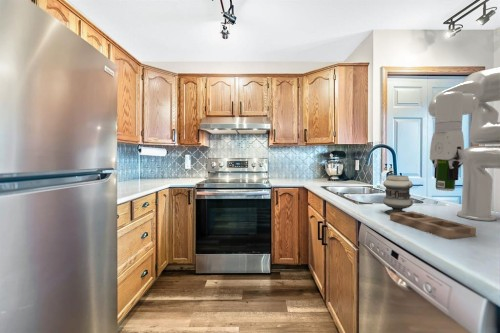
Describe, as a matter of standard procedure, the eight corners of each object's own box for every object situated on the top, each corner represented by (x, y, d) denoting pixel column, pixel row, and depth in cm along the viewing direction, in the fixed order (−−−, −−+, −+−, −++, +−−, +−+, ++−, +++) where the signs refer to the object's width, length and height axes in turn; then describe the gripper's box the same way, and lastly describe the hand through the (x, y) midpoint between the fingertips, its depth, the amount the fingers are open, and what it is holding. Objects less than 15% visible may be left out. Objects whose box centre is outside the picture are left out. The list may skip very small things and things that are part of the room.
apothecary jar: (378, 210, 121) (379, 174, 120) (404, 211, 119) (405, 174, 118) (388, 216, 109) (390, 176, 108) (417, 217, 107) (419, 177, 106)
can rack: (389, 220, 103) (390, 213, 103) (412, 218, 106) (412, 211, 106) (448, 239, 80) (449, 230, 79) (475, 236, 82) (476, 227, 82)
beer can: (451, 191, 83) (453, 156, 82) (432, 189, 87) (434, 156, 86) (457, 190, 86) (459, 156, 85) (438, 188, 90) (440, 156, 89)
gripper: (420, 130, 94) (418, 177, 95) (457, 125, 77) (455, 182, 78) (440, 130, 94) (438, 177, 95) (481, 125, 77) (478, 182, 78)
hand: (445, 178), depth 86 cm, fingers closed on beer can, 5 cm apart
